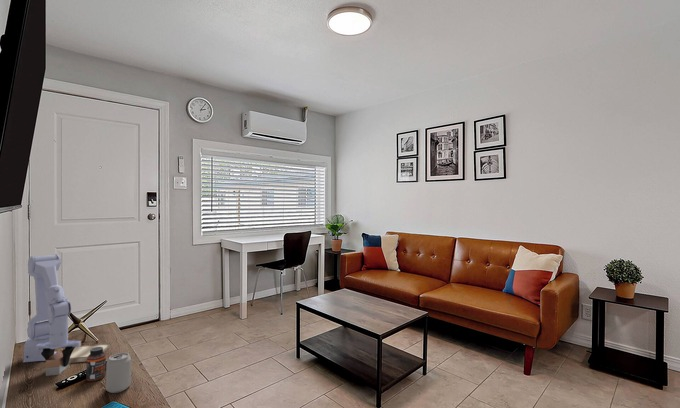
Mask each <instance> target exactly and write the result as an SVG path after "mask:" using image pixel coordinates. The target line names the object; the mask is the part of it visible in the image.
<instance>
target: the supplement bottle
mask: <svg viewBox="0 0 680 408" xmlns="http://www.w3.org/2000/svg"><path fill="white" fill-rule="evenodd" d="M106 357H107V355H106V352H103V347H95V348H92V349H91V350H90V355H89V356H88V357H87V361H86V377H85V378H86V381H87V382H96V381H100V380H101V379H104V377H106V363H107V360H106V359H107V358H106Z"/></svg>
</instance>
